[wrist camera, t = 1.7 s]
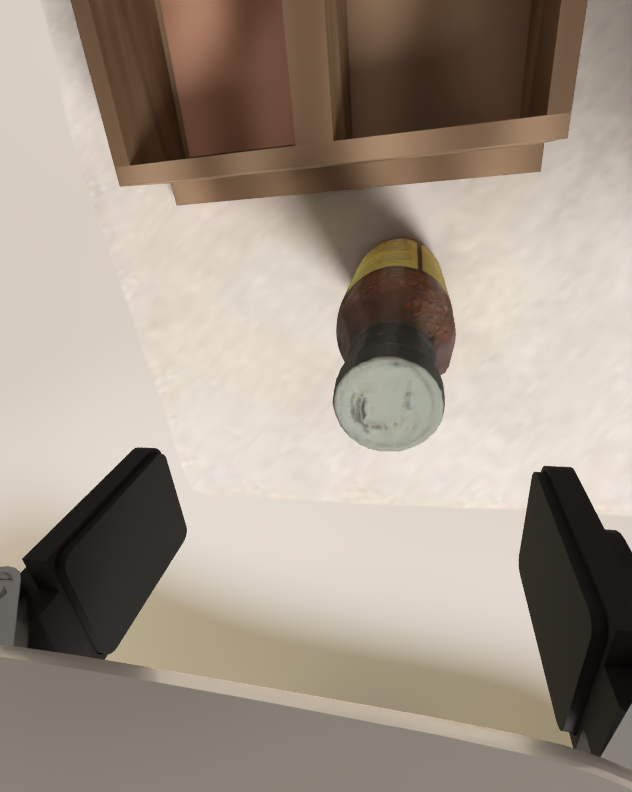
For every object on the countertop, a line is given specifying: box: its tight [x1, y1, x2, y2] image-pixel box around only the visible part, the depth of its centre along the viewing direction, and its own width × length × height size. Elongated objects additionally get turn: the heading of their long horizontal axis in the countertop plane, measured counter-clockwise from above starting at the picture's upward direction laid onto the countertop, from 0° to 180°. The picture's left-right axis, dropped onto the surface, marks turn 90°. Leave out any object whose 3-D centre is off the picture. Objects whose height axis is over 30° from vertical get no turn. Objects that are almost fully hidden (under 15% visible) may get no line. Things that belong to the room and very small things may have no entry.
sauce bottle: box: [333, 238, 456, 451], centre depth 24 cm, size 6×6×20 cm
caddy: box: [71, 0, 587, 205], centre depth 24 cm, size 25×15×8 cm, turn 95°
